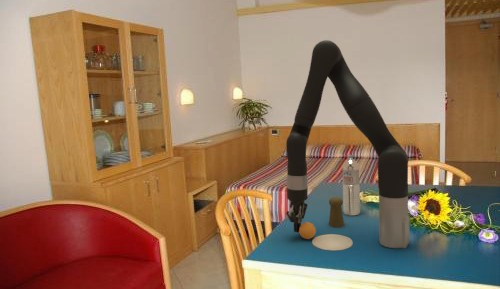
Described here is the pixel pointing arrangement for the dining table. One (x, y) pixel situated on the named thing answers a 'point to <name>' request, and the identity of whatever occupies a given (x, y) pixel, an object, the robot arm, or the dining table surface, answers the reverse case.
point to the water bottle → (351, 187)
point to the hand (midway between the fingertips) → (297, 231)
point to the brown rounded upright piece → (336, 212)
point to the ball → (307, 230)
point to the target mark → (332, 242)
